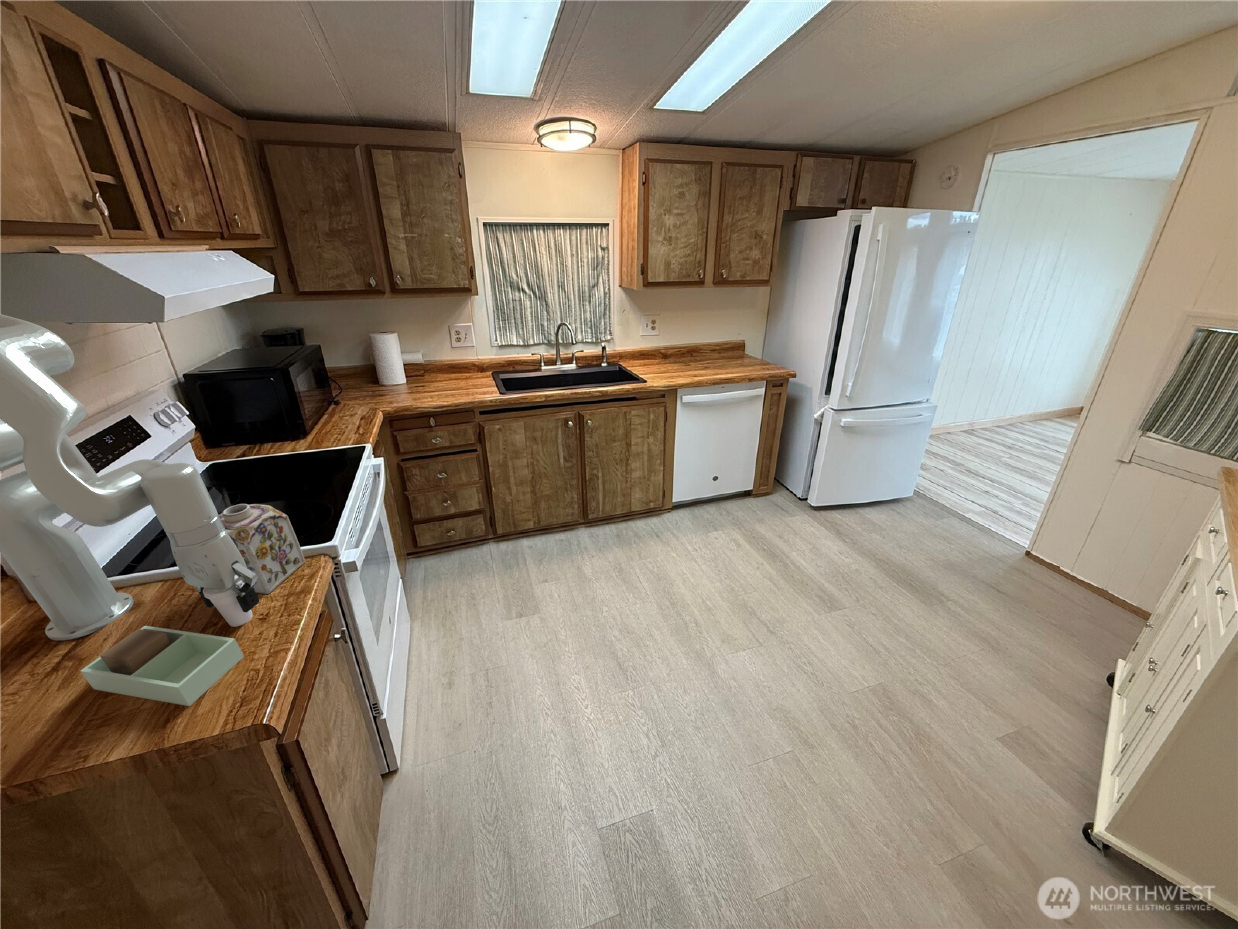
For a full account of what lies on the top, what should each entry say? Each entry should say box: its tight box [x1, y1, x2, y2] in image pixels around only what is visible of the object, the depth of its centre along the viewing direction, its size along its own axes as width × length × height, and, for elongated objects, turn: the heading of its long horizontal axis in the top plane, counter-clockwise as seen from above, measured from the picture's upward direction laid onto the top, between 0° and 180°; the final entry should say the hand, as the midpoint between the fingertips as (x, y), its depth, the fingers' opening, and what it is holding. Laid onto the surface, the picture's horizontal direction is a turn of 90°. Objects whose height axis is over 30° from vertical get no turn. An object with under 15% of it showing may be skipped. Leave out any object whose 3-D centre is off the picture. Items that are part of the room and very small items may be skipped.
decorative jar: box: [219, 503, 306, 595], centre depth 104 cm, size 12×12×18 cm
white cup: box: [203, 575, 254, 627], centre depth 92 cm, size 6×6×14 cm
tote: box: [80, 625, 245, 707], centre depth 83 cm, size 20×10×5 cm, turn 80°
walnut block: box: [99, 628, 172, 676], centre depth 83 cm, size 6×6×6 cm
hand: (233, 604), depth 93 cm, fingers open, 7 cm apart
